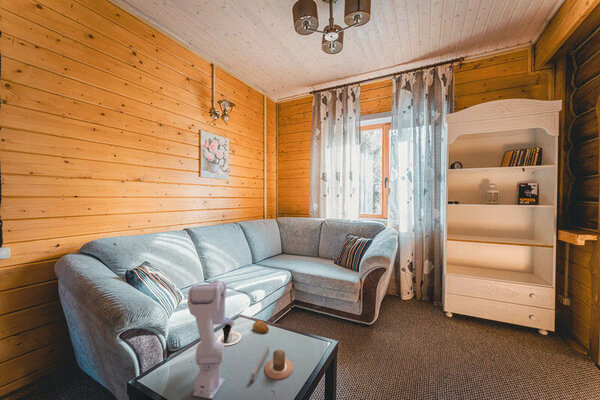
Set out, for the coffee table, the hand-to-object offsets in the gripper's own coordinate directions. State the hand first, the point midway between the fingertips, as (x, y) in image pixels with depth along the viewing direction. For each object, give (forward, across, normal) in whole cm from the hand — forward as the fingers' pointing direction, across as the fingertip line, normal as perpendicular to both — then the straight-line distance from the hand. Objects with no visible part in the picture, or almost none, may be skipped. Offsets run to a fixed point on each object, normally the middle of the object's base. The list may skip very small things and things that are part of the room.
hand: (218, 339), depth 109 cm
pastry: (+10, -10, -28) cm, 31 cm away
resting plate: (+9, -28, -1) cm, 30 cm away
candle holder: (+10, +3, -16) cm, 19 cm away
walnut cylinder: (+9, -28, -1) cm, 29 cm away
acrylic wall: (+9, -20, -1) cm, 22 cm away
